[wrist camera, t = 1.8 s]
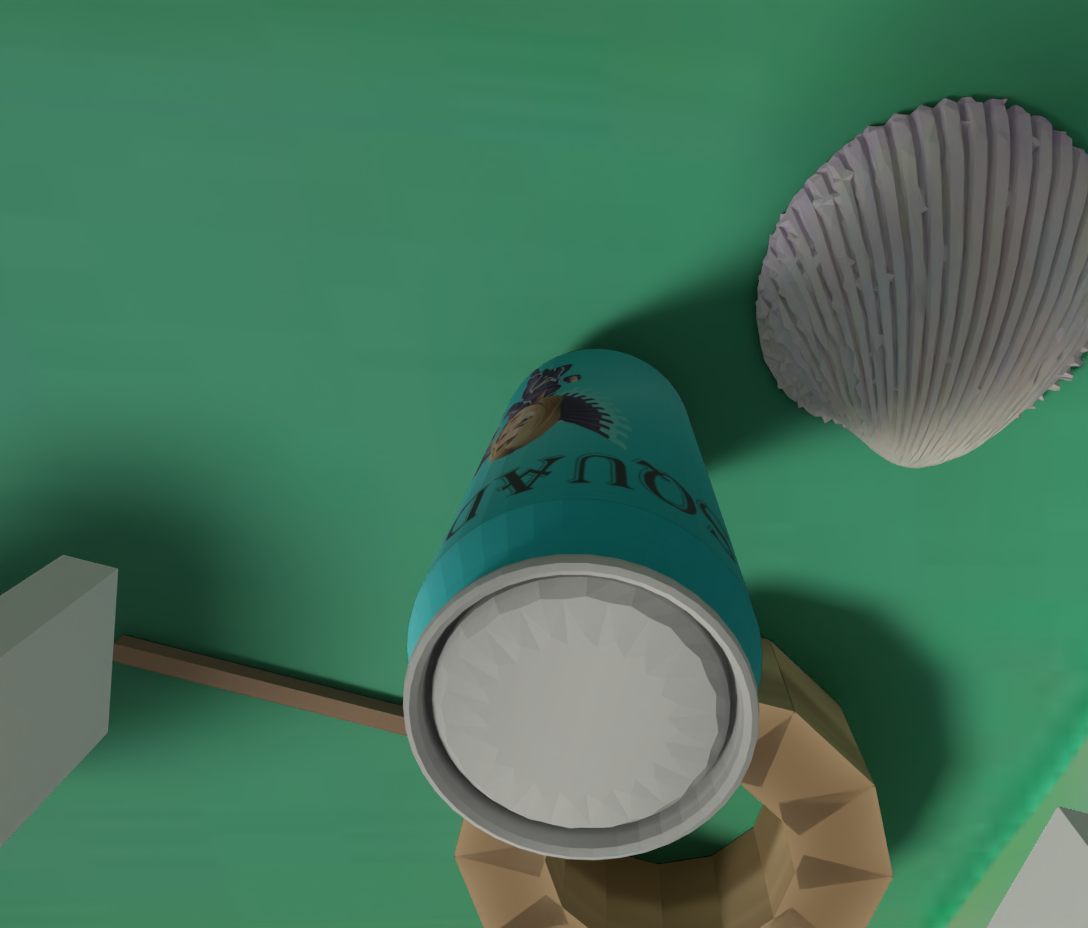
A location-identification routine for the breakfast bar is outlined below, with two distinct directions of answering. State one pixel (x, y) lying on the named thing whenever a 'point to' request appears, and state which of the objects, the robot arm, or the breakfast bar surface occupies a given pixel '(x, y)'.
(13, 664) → the robot arm
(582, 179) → the breakfast bar surface
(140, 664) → the brown stick
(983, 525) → the breakfast bar surface
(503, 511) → the beverage can
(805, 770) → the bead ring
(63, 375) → the breakfast bar surface
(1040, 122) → the seashell
